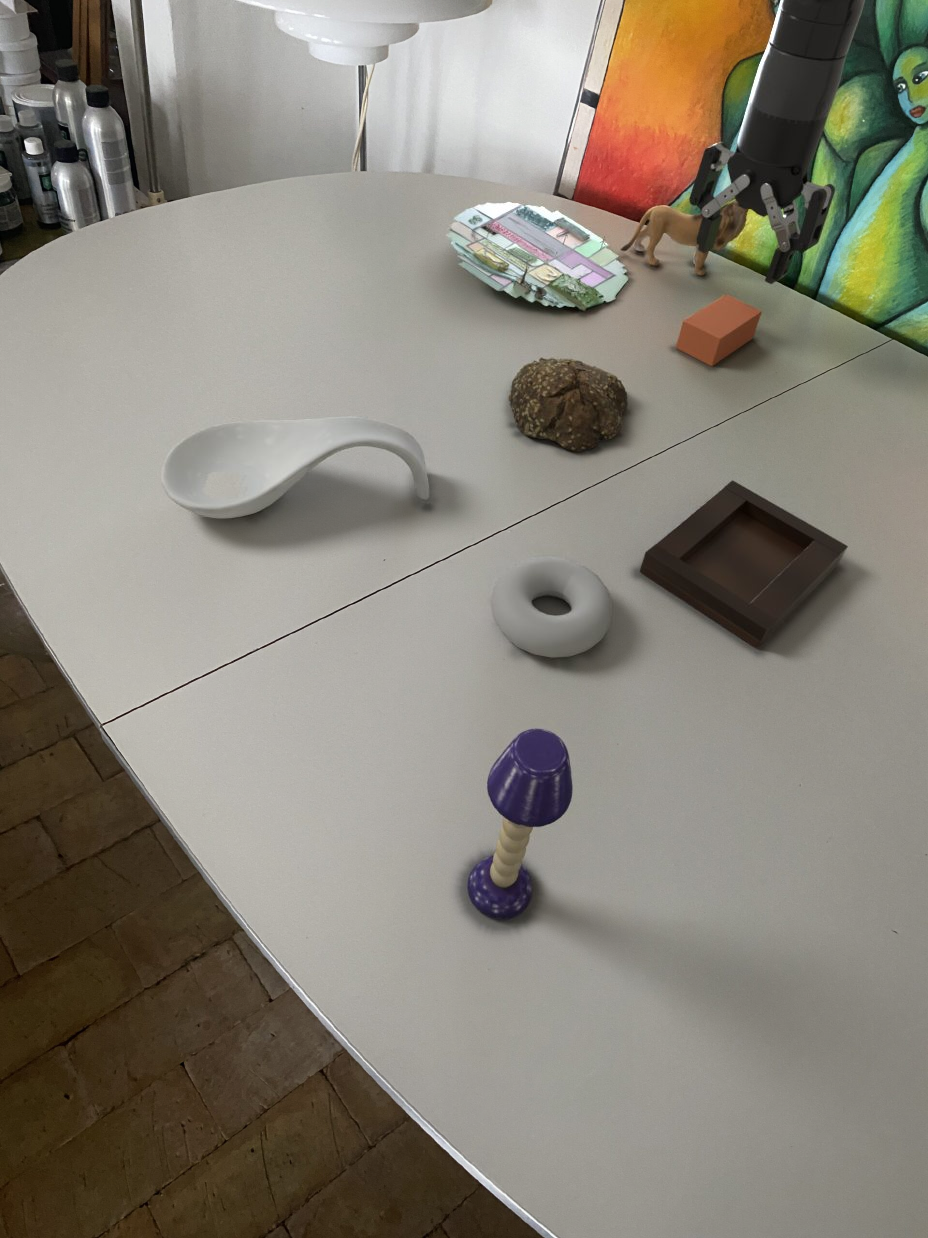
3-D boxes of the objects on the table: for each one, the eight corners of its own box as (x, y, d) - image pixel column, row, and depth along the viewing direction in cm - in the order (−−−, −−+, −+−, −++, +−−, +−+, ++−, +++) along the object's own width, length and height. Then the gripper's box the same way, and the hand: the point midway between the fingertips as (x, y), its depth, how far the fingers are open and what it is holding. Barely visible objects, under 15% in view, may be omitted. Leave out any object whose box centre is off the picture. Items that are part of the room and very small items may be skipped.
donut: (472, 644, 70) (592, 681, 68) (474, 616, 68) (598, 654, 66) (511, 563, 77) (621, 595, 75) (514, 534, 74) (629, 566, 72)
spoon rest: (163, 544, 75) (145, 480, 70) (172, 457, 83) (156, 393, 77) (435, 527, 79) (438, 465, 73) (420, 445, 86) (421, 383, 81)
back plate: (724, 499, 84) (732, 479, 82) (837, 565, 79) (848, 545, 77) (639, 571, 77) (645, 551, 75) (756, 649, 72) (766, 629, 70)
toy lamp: (505, 840, 59) (536, 697, 46) (555, 890, 57) (602, 754, 44) (453, 885, 57) (471, 748, 44) (503, 939, 55) (537, 810, 42)
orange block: (717, 320, 105) (725, 293, 103) (753, 338, 103) (762, 310, 100) (675, 347, 101) (682, 320, 98) (711, 366, 99) (720, 338, 96)
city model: (603, 352, 103) (619, 305, 98) (416, 290, 104) (423, 241, 99) (634, 259, 119) (650, 215, 114) (472, 206, 120) (481, 161, 115)
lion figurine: (730, 261, 115) (752, 191, 108) (731, 281, 112) (753, 210, 105) (620, 245, 116) (634, 175, 110) (617, 263, 113) (631, 193, 106)
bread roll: (517, 370, 96) (522, 329, 92) (629, 389, 95) (639, 348, 91) (496, 440, 87) (501, 398, 84) (619, 462, 86) (629, 420, 83)
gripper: (877, 116, 81) (812, 280, 94) (746, 70, 87) (701, 230, 100) (839, 135, 78) (777, 303, 90) (705, 86, 83) (664, 250, 96)
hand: (737, 265), depth 95 cm, fingers open, 8 cm apart
